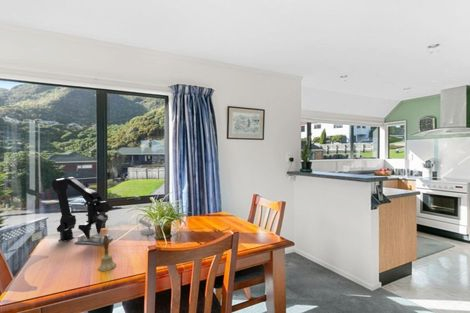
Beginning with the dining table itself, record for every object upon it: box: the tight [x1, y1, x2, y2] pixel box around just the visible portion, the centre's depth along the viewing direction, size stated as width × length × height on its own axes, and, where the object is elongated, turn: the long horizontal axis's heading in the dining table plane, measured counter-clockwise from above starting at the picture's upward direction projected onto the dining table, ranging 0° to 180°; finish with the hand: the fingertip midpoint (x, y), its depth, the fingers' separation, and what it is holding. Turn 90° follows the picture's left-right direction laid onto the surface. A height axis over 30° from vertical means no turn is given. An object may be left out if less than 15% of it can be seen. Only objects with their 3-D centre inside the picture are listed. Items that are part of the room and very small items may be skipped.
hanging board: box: [74, 233, 114, 246], centre depth 170 cm, size 19×10×4 cm, turn 79°
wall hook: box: [138, 218, 155, 236], centre depth 186 cm, size 9×10×10 cm
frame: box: [83, 233, 106, 242], centre depth 170 cm, size 12×4×3 cm, turn 79°
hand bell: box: [97, 234, 117, 272], centre depth 134 cm, size 8×8×16 cm
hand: (93, 236), depth 170 cm, fingers open, 9 cm apart
